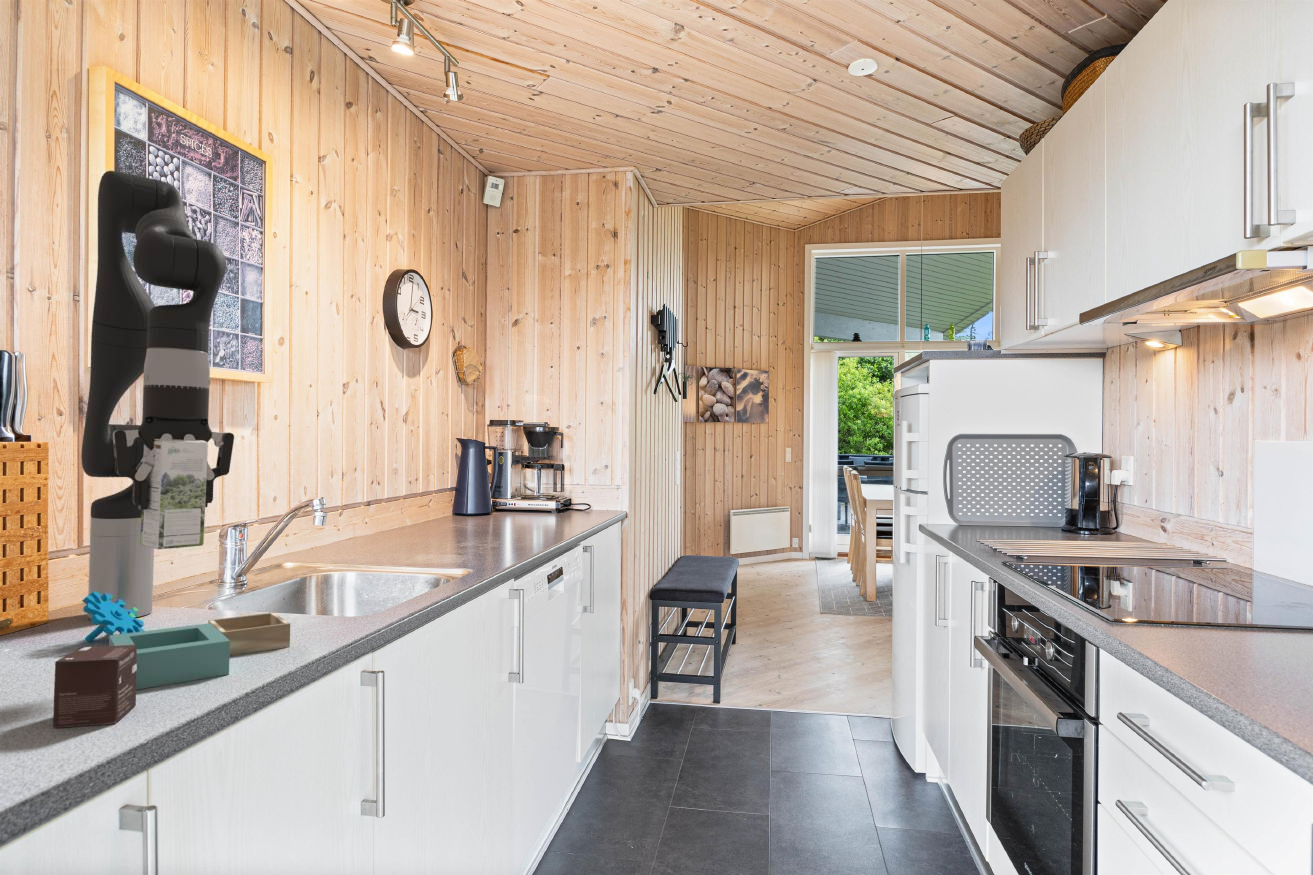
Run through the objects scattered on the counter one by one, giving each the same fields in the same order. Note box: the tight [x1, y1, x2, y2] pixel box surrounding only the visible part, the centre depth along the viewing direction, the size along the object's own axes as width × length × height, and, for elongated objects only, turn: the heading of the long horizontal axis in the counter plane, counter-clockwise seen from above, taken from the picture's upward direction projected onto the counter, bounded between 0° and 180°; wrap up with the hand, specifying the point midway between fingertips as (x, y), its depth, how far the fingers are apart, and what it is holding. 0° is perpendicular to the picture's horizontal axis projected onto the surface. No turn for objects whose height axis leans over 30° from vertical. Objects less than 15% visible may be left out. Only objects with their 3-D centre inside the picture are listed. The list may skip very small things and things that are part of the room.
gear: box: [81, 591, 146, 643], centre depth 115 cm, size 11×6×10 cm
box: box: [52, 645, 137, 729], centre depth 85 cm, size 6×6×7 cm
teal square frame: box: [108, 622, 231, 691], centre depth 101 cm, size 12×12×4 cm
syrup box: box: [140, 439, 209, 550], centre depth 101 cm, size 6×6×14 cm
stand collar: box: [207, 612, 291, 657], centre depth 115 cm, size 9×9×4 cm
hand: (173, 507), depth 101 cm, fingers closed on syrup box, 6 cm apart
